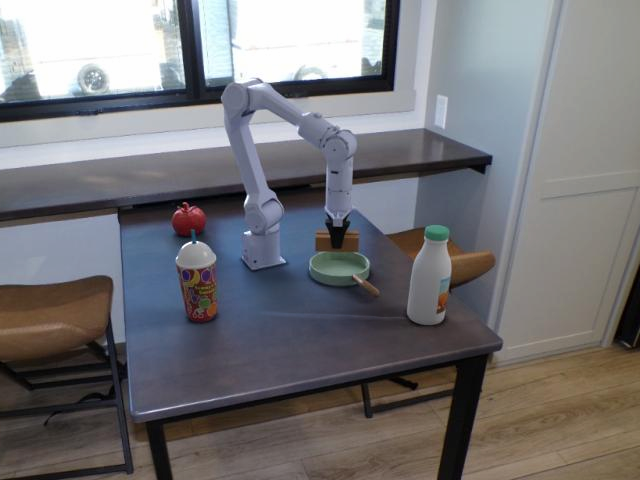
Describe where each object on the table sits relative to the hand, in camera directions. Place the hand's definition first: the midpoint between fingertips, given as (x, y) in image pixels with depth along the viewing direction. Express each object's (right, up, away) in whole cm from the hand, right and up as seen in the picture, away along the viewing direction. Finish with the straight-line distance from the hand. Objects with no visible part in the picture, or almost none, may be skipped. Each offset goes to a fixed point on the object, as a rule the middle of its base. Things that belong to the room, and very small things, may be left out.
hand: (336, 243), depth 123 cm
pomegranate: (-40, +7, +31) cm, 51 cm away
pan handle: (+6, -11, -5) cm, 13 cm away
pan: (+1, -7, +6) cm, 9 cm away
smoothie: (-31, -17, -10) cm, 36 cm away
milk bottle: (+17, -17, -13) cm, 27 cm away
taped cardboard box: (0, -1, +1) cm, 1 cm away
